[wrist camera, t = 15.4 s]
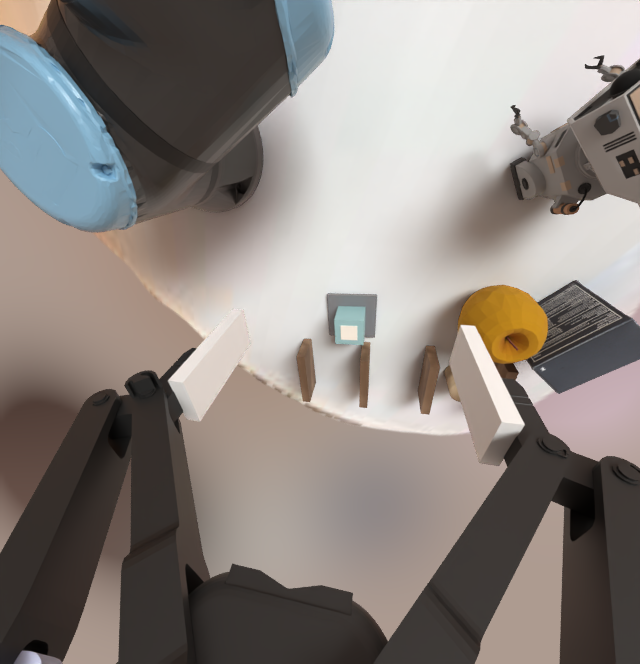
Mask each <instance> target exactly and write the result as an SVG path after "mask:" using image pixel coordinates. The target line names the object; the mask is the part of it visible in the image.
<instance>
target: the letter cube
mask: <svg viewBox="0 0 640 664" xmlns="http://www.w3.org/2000/svg"><path fill="white" fill-rule="evenodd" d="M334 325H335V342H336V344H352V345H364V336H365V307H352V306H338V309H337V312H336V316H335V319H334Z"/></svg>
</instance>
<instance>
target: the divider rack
mask: <svg viewBox="0 0 640 664" xmlns="http://www.w3.org/2000/svg"><path fill="white" fill-rule="evenodd" d="M369 362H370V342H364V345H362V350H361V359H360V404H359V407H363V408H367V401H368V387H369ZM493 363H494V365H495V367H496V369H497V371H498V373H499V375H500V377H501V378H507V379H514V380H516V378H517V376H518V373H519V372H518V371H517V369H516V367H515V366H514V364H513V363H506V364H500V363H496V362H493ZM297 364H298V371H299V377H300V384H301V391H302V398H303V401H306V402H310V400H311V397H312V393H313V390H314V387H315V383H316V379H315V369H314V360H313V350H312V340H311V339H304V340H303V343H302V345H301V347H300V350H299V352H298V354H297ZM439 369H440V365H439V361H438V357H437V353H436V349H435V346H426V349H425V355H424V360H423V366H422V371H421V377H420V382H419V388H418V396H419V403H420V410H421V414H429V413H430V409H431V404H432V400H433V396H434V391H435V387H436V382H437V378H438V373H439Z"/></svg>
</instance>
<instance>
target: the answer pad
mask: <svg viewBox="0 0 640 664" xmlns="http://www.w3.org/2000/svg"><path fill="white" fill-rule="evenodd" d="M327 298H328V315H329V332H330V335H335V325H334V319H335V316H336V312H337V309H338V306H352V307H365V336H364V337H375V324H376V304H377V295H374V294H330V293H328V294H327Z"/></svg>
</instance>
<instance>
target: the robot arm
mask: <svg viewBox="0 0 640 664" xmlns="http://www.w3.org/2000/svg"><path fill="white" fill-rule="evenodd" d="M333 36H334V14H333V7H332V1H331V0H51V2H50V4H49V6H48V9H47V10H46V12H45V14H44V17H43V19H42V21H41V23H40V25H39V28H38V30H37V31H36V32H35V33H34V34H32V35H31V36H27V35H26V34H23V33H20V32H18V31H16V30H15V29H13V28H11V27H8V26H4V25H0V169H1V170H2V171H3V172H4V174H5V175H6V176H7V177H8V178H9V179H10V181H11V182H12V183H13V184H14V185H15V186H16V187H17V188H18V189H19V190H20V191H21V192H22V193H23V194H24V195H25V196H26V197H27V198H28V199H29V200H30V201H32V202H33V203H34V204H35V205H36V206H37V207H39V208H40V209H41V210H43V211H44V212H45V213H47V214H48V215H50V216H51V217H53V218H54V219H56V220H58V221H59V222H61V223H63V224H66V225H69V226H73V227H74V228H77V229H79V230H82V231H86V232H105V231H110V230H115V229H119V230H121V229H123V230H124V229H127V228H129V227H132V226H133V225H134V224H137V223H140V222H143V221H146V220H150V219H153V218H156V217H159V216H162V215H166V214H169V213H172V212H175V211H179V210H182V209H185V208H188V207H192V208H196V209H200V210H204V211H208V212H223V211H227V210H230V209H233V208H235V207H238V206H240V205H241V204H243V203H244V202H246V201H247V200H248V199H249V198H250V197H251V195H252V194H253V193H254V191H255V189H256V188H257V185H258V183H259V180H260V177H261V173H262V167H263V148H262V141H261V136H260V132H259V129H258V126H257V125H258V124H259V123H260V122H261V121H262V120H263V119H264V118H266V117H267V116H268V115H269V114H270V113H271V112H272V111H273V110H274V109H275V108H276V107H277V106H278V105H279V104H280V103H281V102H282V101H283V100H285V99H286V98H287V97H288V96H289V95H290V96H291V97H293V96H294V95H295V94H296V93H297V90H298V87H299V85H300V84H301V83H302V82H303V81H304V80H305V79H306V78H307V77H308V76H309V75H310V74H311V73H312V72H313V71H314V70H315V69H316V68H317V67H318V66H319V65H320V64H321V63H322V62H323V60H324V59H325V58H326V56H327V54H328V53H329V51H330V48H331V45H332V41H333ZM250 344H251V342H250V337H249V332H248V328H247V323H246V319H245V314H244V310H242V309H232V310H231V311H230V312H229V313H228V314H227V316H226V317H225V318H224V319H223V320H222V321H221V322H220V323H219V324H218V326H217V327H216V328H215V329H214V330H213V331H212V332H211V333H210V334H209V336H208V337H207V338H206V339H205V340H204V341H203V342H202V343H201V344H200V346H199V347H198V348H192V349H190V350H188V351H187V352H185V353H184V354H183V355H182V356H181V357H180V358H179V359H178V361H176V362H175V363H174V365H173V366H171V368H170V369H169V370H168V371H167V372H166V373H165V374H164V375H163V376H162V377H161V378H160V379H158V377H157V375H156V373H155V372H153V371H143V372H139V373H137V374H135V375H133V376H132V377H130V378H129V379H128V380H127V381H126V383H125V385H124V386H125V388H126V389H127V391H128V392H129V394H130V395H124V396H119V395H118V394H117V393H116V391H115V390H112V389H106V390H103V391H99V392H97V393H95V394H93V395H92V396H91V397H89V398H88V399H87V400H86V401H85V403H84V404H83V406H82V408H81V410H80V412H79V414H78V415H77V417H76V419H75V421H74V423H73V424H72V426H71V428H70V430H69V432H68V433H67V435H66V437H65V439H64V440H63V442H62V444H61V446H60V448H59V450H58V451H57V453H56V455H55V456H54V458H53V460H52V462H51V464H50V465H49V467H48V469H47V471H46V473H45V475H44V476H43V478H42V480H41V482H40V483H39V485H38V487H37V489H36V490H35V492H34V494H33V496H32V498H31V499H30V501H29V503H28V505H27V507H26V508H25V510H24V512H23V514H22V515H21V517H20V519H19V521H18V523H17V525H16V526H15V528H14V530H13V532H12V533H11V535H10V537H9V539H8V541H7V542H6V544H5V546H4V548H3V550H2V552H1V553H0V664H62V662H63V660H64V658H65V656H66V653H67V651H68V649H69V646H70V644H71V642H72V639H73V637H74V635H75V632H76V630H77V627H78V624H79V621H80V618H81V615H82V612H83V609H84V606H85V603H86V600H87V597H88V594H89V590H90V587H91V584H92V580H93V578H94V574H95V571H96V568H97V565H98V561H99V558H100V555H101V552H102V548H103V545H104V542H105V539H106V535H107V532H108V529H109V526H110V523H111V519H112V516H113V513H114V510H115V507H116V503H117V500H118V497H119V494H120V490H121V487H122V484H123V481H124V478H125V474H126V471H127V468H128V465H129V461H130V458H131V455H132V459H131V460H132V462H131V549H130V553H129V554H128V555H127V556H126V557H125V558H124V561H123V563H122V570H121V598H120V600H121V601H120V629H119V661H118V662H117V663H116V664H475V661H476V659H477V657H478V654H479V651H480V643H481V640H482V637H483V635H484V633H485V631H486V629H487V627H488V625H489V623H490V621H491V619H492V617H493V615H494V613H495V611H496V609H497V607H498V605H499V603H500V601H501V599H502V597H503V595H504V593H505V591H506V589H507V587H508V585H509V583H510V581H511V579H512V577H513V575H514V573H515V571H516V569H517V567H518V566H519V563H520V561H521V560H522V558H523V556H524V554H525V551H526V550H527V547H528V546H529V544H530V542H531V540H532V538H533V536H534V534H535V532H536V530H537V528H538V526H539V524H540V522H541V520H542V518H543V516H544V514H545V512H546V510H547V508H548V506H549V504H550V502H551V501H553V502H555V503H558V504H560V505H562V506H564V535H563V568H562V602H561V638H560V664H640V468H638V467H637V466H636V465H634V464H632V463H630V462H628V461H627V460H624V459H621V458H618V457H615V456H606V457H604V458H602V459H601V460H600V461H599V462H598V461H595V460H593V459H590V458H587V457H584V456H582V455H579V454H576V453H574V452H572V451H570V448H569V447H568V446H567V445H566V444H565V443H564V442H563V441H562V440H560V439H559V438H557V437H556V436H554V435H551V434H550V433H549V432H548V430H547V429H546V427H545V425H544V423H543V421H542V420H541V418H540V416H539V414H538V413H537V411H536V409H535V407H534V406H533V404H532V402H531V400H530V399H529V398H528V395H527V393H526V392H525V390H524V388H523V387H522V386H521V385H520V384H519V383H517V382H516V381H515V380H514V379H507V378H501V377H500V375H499V373H498V371H497V369H496V367H495V365H494V363H493V361H492V359H491V357H490V355H489V353H488V351H487V349H486V347H485V345H484V343H483V341H482V339H481V337H480V335H479V333H478V331H477V329H476V327H475V326H469V325H460V328H459V331H458V334H457V337H456V341H455V344H454V347H453V350H452V354H451V357H450V360H449V364H450V367H451V371H452V374H453V377H454V381H455V384H456V387H457V391H458V394H459V397H460V401H461V404H462V407H463V410H464V414H465V417H466V420H467V424H468V427H469V430H470V434H471V437H472V440H473V444H474V447H475V450H476V454H477V457H478V460H479V463H482V464H488V465H495V466H499V465H500V464H501V462H502V461H503V459H505V462H506V464H507V469H506V470H505V472H504V473H503V475H502V476H501V478H500V479H499V481H498V482H497V483H496V485H495V486H494V488H493V489H492V491H491V492H490V494H489V495H488V497H487V498H486V500H485V501H484V503H483V504H482V506H481V507H480V508H479V510H478V511H477V513H476V514H475V516H474V517H473V519H472V520H471V522H470V523H469V524H468V526H467V527H466V529H465V530H464V532H463V533H462V535H461V536H460V538H459V539H458V541H457V542H456V543H455V545H454V546H453V548H452V549H451V551H450V552H449V554H448V555H447V557H446V558H445V560H444V561H443V563H442V564H441V565H440V567H439V568H438V570H437V571H436V573H435V574H434V576H433V578H432V579H431V580H430V582H429V583H428V584H427V586H426V587H425V589H424V590H423V591H422V593H421V594H420V596H419V597H418V599H417V600H416V602H415V603H414V605H413V606H412V608H411V609H410V611H409V612H408V614H407V615H406V616H405V618H404V619H403V621H402V622H401V624H400V625H399V627H398V628H397V630H396V631H395V632H394V634H393V635H392V637H391V638H390V640H389V641H387V639H386V637H385V635H384V634H383V632H382V630H381V629H380V627H379V626H378V624H377V623H376V622H375V620H374V619H373V618H372V617H371V616H370V614H369V613H368V612H367V611H366V610H365V609H363V608H362V607H361V606H360V605H358V604H357V603H356V602H354V601H352V596H353V593H351V592H347V591H343V590H338V589H334V588H330V587H326V586H322V585H321V586H311V587H302V588H293V589H288V588H286V587H284V586H282V585H281V584H279V583H278V582H276V581H275V580H274V579H272V578H271V577H269V576H268V575H266V574H265V573H263V572H262V571H260V570H256V569H252V568H247V567H244V566H239V565H235V564H232V566H231V569H230V572H226V573H222V574H219V575H217V576H214V577H212V578H210V575H209V572H208V568H207V566H206V563H205V560H204V556H203V552H202V546H201V541H200V534H199V529H198V522H197V516H196V511H195V505H194V499H193V493H192V487H191V481H190V475H189V469H188V464H187V458H186V452H185V446H184V440H183V434H182V428H181V423H180V420H179V417H180V415H181V414H182V413H184V415H185V417H186V419H187V420H193V421H201V419H202V418H203V416H204V415H205V413H206V412H207V410H208V409H209V407H210V406H211V404H212V403H213V401H214V399H215V398H216V396H217V395H218V393H219V392H220V390H221V389H222V387H223V386H224V384H225V383H226V381H227V380H228V378H229V376H230V375H231V373H232V372H233V370H234V369H235V367H236V366H237V364H238V363H239V361H240V360H241V358H242V357H243V355H244V354H245V352H246V350H247V349H248V347H249V346H250Z"/></svg>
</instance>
